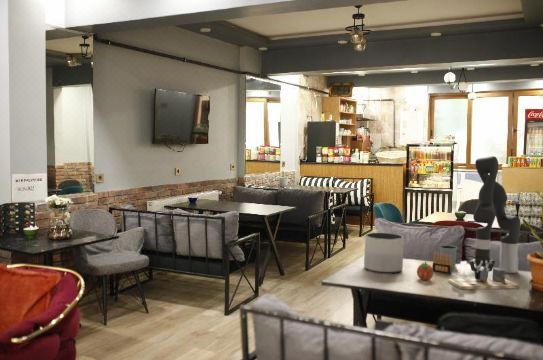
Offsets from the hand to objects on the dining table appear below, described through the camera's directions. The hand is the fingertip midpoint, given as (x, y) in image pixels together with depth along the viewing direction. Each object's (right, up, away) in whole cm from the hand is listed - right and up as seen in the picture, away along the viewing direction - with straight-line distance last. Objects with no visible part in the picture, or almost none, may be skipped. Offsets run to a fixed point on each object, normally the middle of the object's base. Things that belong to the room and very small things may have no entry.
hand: (481, 278), depth 278 cm
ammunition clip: (-13, -1, +23) cm, 27 cm away
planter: (-46, 0, +28) cm, 54 cm away
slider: (0, -1, -1) cm, 2 cm away
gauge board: (0, -3, -2) cm, 3 cm away
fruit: (-28, -2, +6) cm, 29 cm away
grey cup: (-5, 0, +40) cm, 40 cm away
